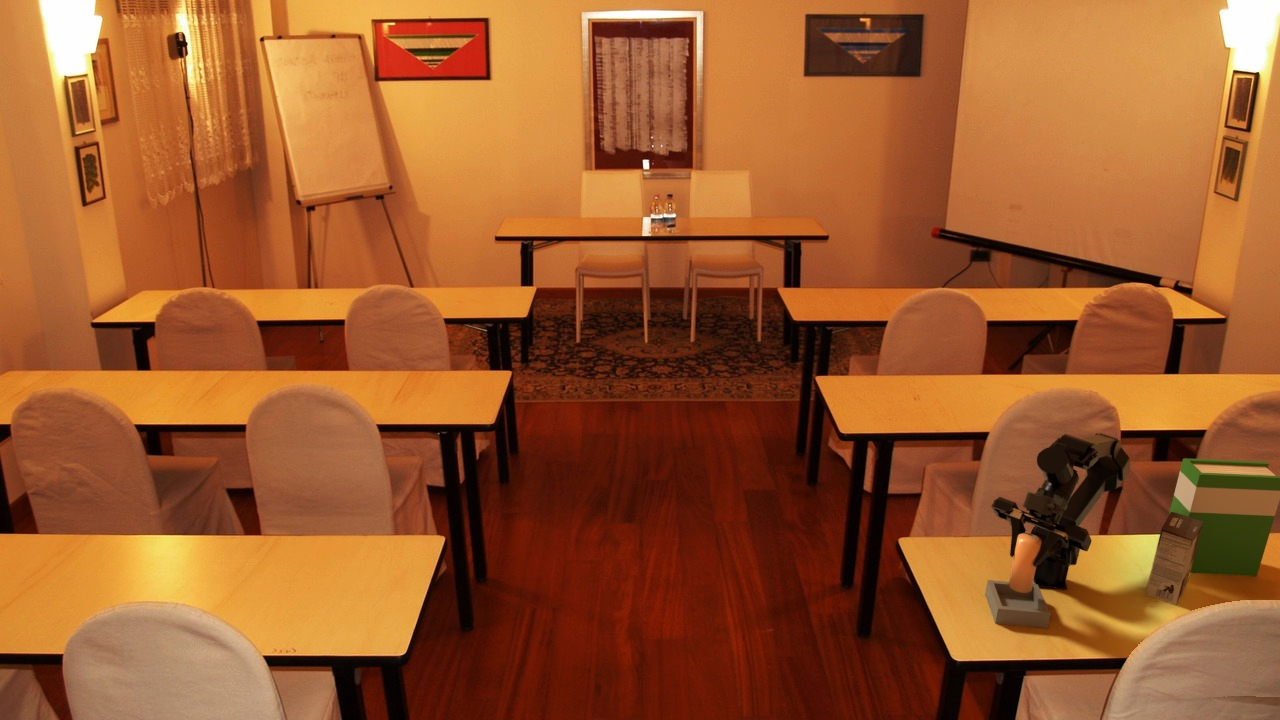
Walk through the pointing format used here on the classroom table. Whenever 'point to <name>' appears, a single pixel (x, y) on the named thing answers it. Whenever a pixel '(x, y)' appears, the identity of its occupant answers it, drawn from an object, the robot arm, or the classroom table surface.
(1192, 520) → the coffee box
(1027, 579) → the orange cylinder
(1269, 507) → the hardback book
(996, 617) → the tray
